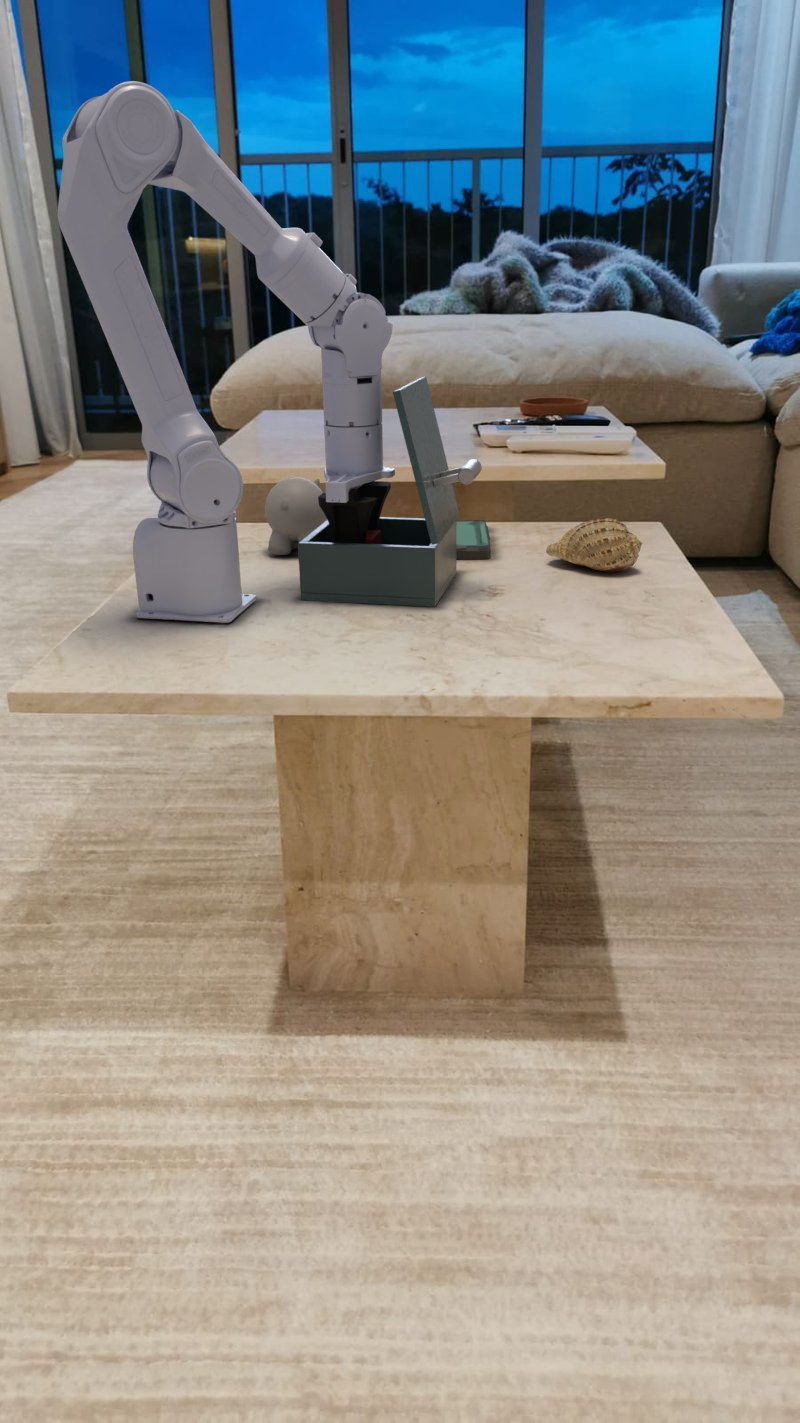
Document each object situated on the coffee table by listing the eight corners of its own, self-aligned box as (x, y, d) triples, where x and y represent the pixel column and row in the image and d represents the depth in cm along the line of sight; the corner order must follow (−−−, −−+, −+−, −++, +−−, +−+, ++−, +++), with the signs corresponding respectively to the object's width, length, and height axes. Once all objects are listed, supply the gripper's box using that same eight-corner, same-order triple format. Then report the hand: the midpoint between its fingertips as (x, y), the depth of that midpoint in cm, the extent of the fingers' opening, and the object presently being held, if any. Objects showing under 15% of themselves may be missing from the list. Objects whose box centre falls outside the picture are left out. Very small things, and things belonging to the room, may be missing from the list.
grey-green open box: (300, 600, 107) (297, 543, 104) (334, 567, 118) (332, 515, 116) (435, 607, 104) (435, 548, 102) (456, 572, 115) (456, 519, 113)
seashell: (560, 601, 115) (649, 565, 111) (537, 550, 113) (628, 512, 110) (564, 581, 122) (648, 546, 118) (543, 533, 120) (628, 497, 117)
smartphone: (426, 549, 120) (427, 518, 134) (427, 560, 121) (427, 528, 134) (492, 548, 120) (487, 518, 134) (492, 559, 120) (486, 528, 134)
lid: (392, 391, 97) (443, 378, 96) (419, 378, 108) (465, 365, 107) (431, 545, 102) (480, 534, 100) (453, 516, 113) (497, 506, 112)
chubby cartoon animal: (343, 535, 132) (340, 465, 129) (322, 560, 121) (318, 484, 118) (286, 534, 133) (282, 464, 130) (260, 558, 122) (255, 483, 119)
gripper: (375, 434, 98) (379, 579, 103) (408, 414, 111) (409, 543, 116) (301, 433, 99) (308, 576, 104) (342, 413, 112) (346, 541, 117)
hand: (357, 558), depth 110 cm, fingers closed on block, 4 cm apart
